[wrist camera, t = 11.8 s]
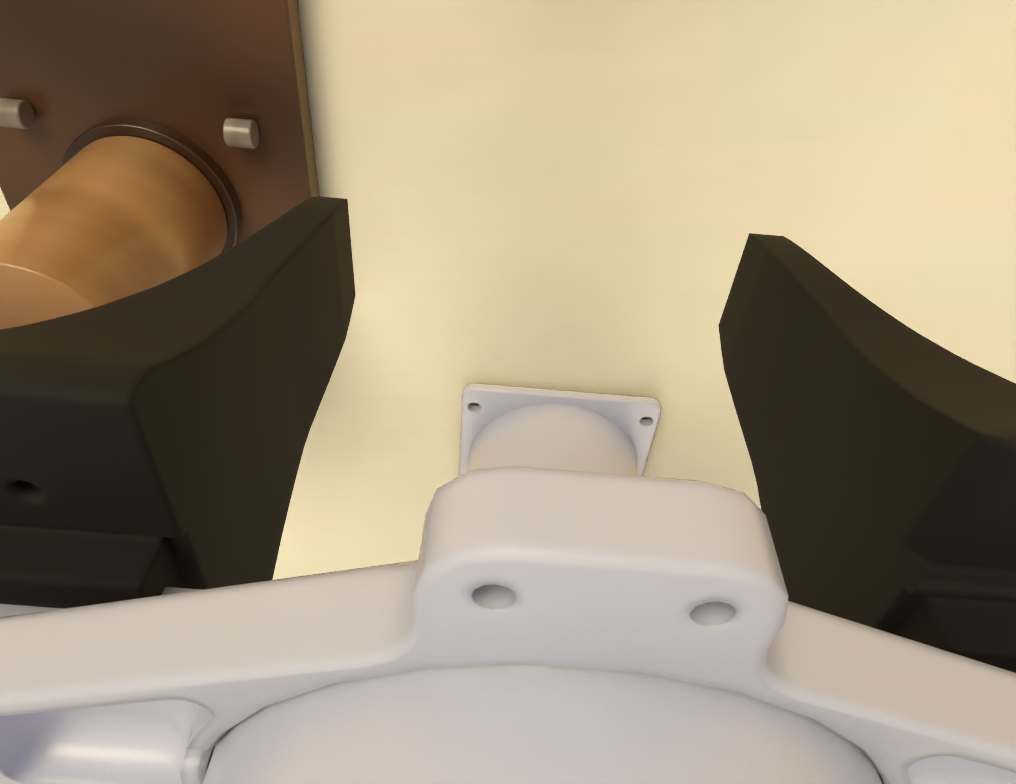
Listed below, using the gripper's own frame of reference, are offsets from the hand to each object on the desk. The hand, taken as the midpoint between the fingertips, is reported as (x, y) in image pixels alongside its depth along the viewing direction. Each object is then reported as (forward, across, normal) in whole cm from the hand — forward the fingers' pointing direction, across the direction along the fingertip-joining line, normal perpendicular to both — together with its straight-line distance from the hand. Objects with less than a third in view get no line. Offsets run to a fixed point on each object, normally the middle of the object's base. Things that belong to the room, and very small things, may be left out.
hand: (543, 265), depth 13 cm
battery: (+9, +12, +5) cm, 16 cm away
